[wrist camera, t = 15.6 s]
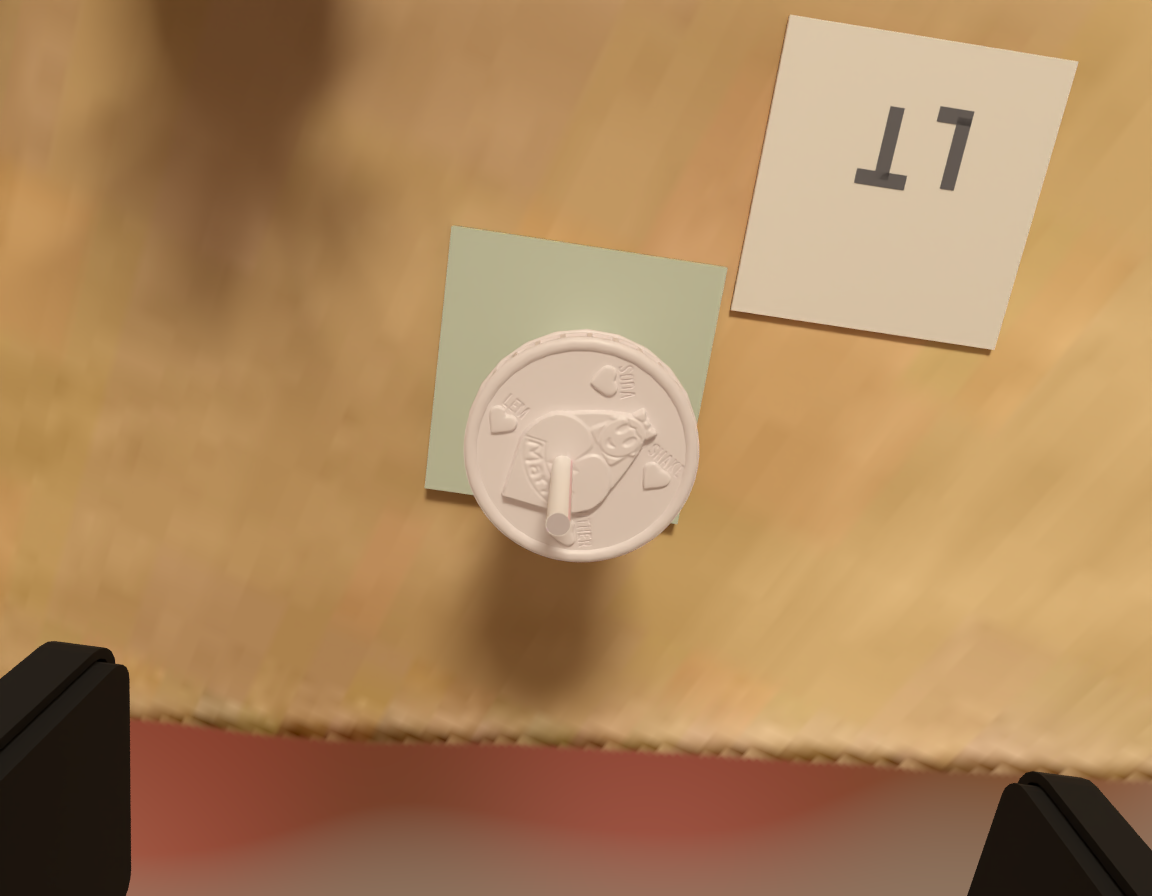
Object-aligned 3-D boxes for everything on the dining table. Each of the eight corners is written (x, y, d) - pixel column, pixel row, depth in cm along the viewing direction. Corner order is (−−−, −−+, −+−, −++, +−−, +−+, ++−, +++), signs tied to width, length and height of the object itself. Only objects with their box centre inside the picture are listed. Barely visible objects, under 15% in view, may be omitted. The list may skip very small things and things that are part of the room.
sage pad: (724, 266, 31) (727, 268, 30) (675, 518, 34) (677, 524, 33) (453, 225, 31) (451, 226, 30) (427, 483, 34) (424, 488, 33)
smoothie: (465, 342, 31) (377, 452, 18) (620, 261, 30) (650, 312, 17) (546, 488, 33) (521, 688, 19) (695, 415, 32) (777, 572, 19)
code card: (1075, 62, 29) (1079, 61, 29) (991, 349, 32) (994, 349, 32) (788, 15, 29) (790, 14, 28) (730, 309, 31) (731, 310, 31)
